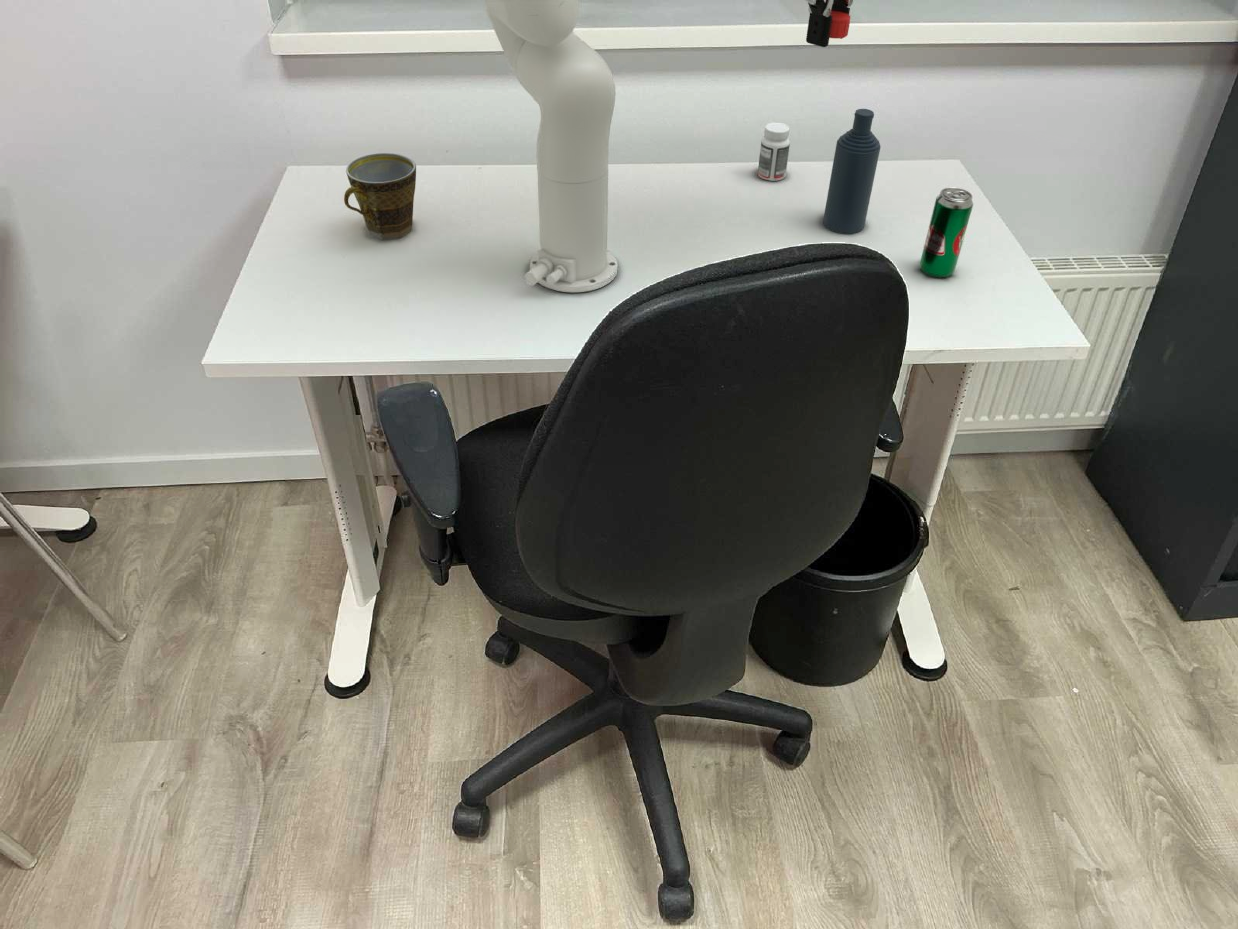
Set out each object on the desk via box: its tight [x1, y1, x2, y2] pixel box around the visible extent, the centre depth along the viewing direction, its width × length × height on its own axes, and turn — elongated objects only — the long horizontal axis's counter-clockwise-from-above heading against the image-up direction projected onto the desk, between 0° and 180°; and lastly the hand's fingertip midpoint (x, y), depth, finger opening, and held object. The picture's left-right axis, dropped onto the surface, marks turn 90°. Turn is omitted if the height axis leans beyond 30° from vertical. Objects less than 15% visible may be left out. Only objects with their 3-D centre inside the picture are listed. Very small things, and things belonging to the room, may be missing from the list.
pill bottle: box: [757, 122, 791, 182], centre depth 165 cm, size 5×5×8 cm
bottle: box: [822, 108, 882, 235], centre depth 149 cm, size 6×6×18 cm
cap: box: [829, 11, 851, 39], centre depth 134 cm, size 4×4×2 cm
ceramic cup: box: [343, 152, 417, 241], centre depth 147 cm, size 13×10×10 cm
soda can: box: [919, 187, 974, 279], centre depth 141 cm, size 5×5×12 cm
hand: (825, 38), depth 136 cm, fingers closed on cap, 3 cm apart
